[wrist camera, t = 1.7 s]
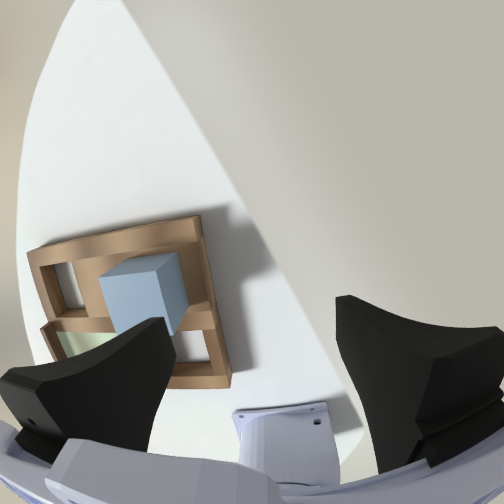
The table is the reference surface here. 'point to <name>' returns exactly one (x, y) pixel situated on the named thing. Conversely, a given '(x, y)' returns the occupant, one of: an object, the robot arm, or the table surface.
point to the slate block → (145, 291)
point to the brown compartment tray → (95, 312)
